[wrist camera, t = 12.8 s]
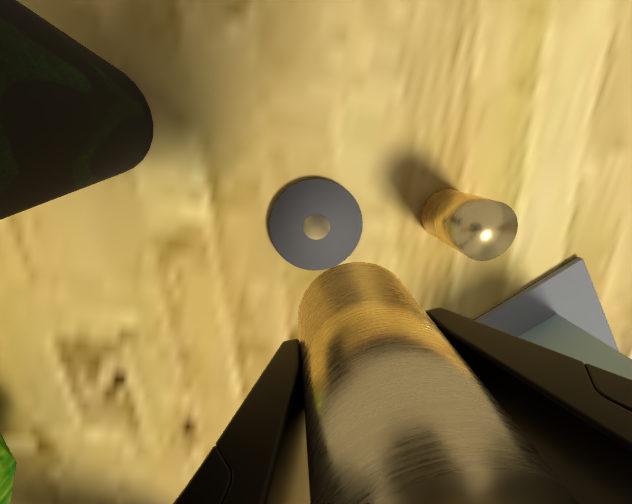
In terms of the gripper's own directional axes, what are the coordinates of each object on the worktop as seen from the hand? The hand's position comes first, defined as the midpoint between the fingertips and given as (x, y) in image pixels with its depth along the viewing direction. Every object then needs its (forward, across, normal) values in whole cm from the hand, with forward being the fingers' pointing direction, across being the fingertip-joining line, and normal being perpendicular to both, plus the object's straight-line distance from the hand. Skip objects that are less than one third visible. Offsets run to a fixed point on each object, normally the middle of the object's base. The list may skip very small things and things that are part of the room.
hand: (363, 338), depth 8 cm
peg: (+1, 0, 0) cm, 1 cm away
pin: (+12, -8, +1) cm, 14 cm away
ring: (+11, 0, 0) cm, 11 cm away
